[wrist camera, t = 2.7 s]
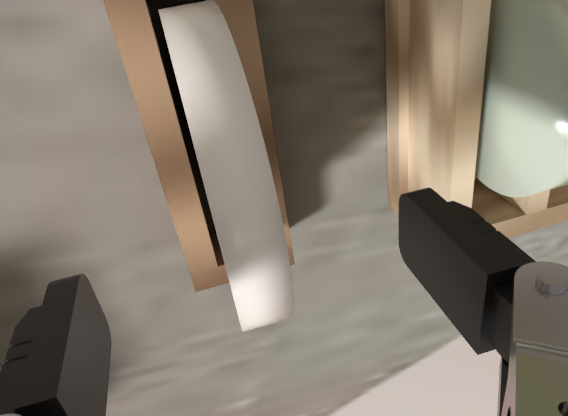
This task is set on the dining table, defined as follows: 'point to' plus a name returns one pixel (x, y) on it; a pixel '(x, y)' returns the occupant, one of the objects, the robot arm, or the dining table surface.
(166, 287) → the dining table surface
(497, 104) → the saucer
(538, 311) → the robot arm
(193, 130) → the plate
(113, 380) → the dining table surface
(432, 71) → the rack
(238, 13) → the stand
